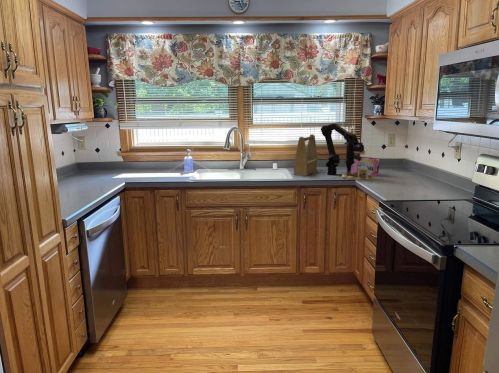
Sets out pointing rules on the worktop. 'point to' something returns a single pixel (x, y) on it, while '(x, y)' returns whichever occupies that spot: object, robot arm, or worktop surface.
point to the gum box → (367, 165)
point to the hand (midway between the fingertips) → (348, 171)
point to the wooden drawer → (354, 174)
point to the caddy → (305, 157)
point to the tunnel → (365, 170)
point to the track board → (345, 176)
